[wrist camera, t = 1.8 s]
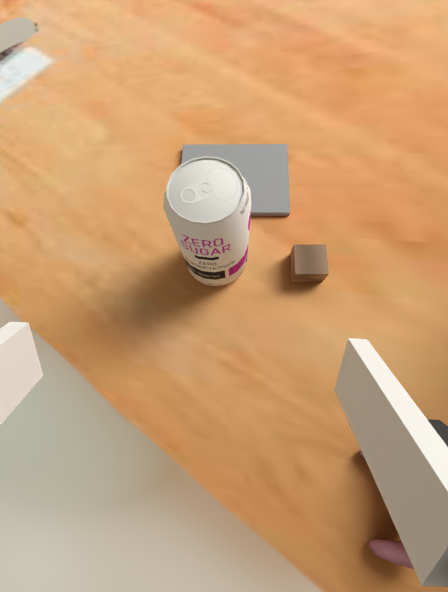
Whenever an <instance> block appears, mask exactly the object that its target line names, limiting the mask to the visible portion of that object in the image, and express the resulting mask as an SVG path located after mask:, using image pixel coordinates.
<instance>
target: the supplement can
mask: <svg viewBox="0 0 448 592" xmlns="http://www.w3.org/2000/svg"><path fill="white" fill-rule="evenodd" d="M164 210H165V212H166V215H167V217H168V220H169V222H170V225H171V227H172V230H173V232H174V235H175V237H176V240H177V242H178V245H179V247H180V250H181V252H182V255H183V257H184V259H185V262H186V264H187V267H188V269H189V272H190V274H191V275H192V276H193V277H194V278H195V279H196V280H197V281H199V282H201V283H203V284H205V285H210V286H221V285H226V284H229V283H230V282H232V281H234V280H235V279H237V278H238V277H239V276H240V274H241V273H242V272H243V271H244V268H245V265H246V262H247V253H248V240H249V227H250V214H251V191H250V188H249V186H248V184H247V182H246V180H245V179H244V177H243V176H242V175H241V173H240V171H239V170H238V169H237V168H236V167H235V166H234V165H233V164H232V163H230V162H229V161H226V160H224V159H221V158H219V157H209V156H203V157H199V158H194V159H191V160H189V161H187V162H185V163H183V164H181V165H180V166H179V167H178V168H177V169H176V170H175V171H174V172H173V173H172V175H171V177H170V179H169V181H168V183H167V190H166V192H165V194H164Z"/></svg>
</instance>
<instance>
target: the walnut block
mask: <svg viewBox="0 0 448 592" xmlns="http://www.w3.org/2000/svg"><path fill="white" fill-rule="evenodd" d="M290 266H291V282H323V280H324V279H325V278H326V277H327V275H328V263H327V253H326V245H293V248H292V250H291V253H290Z"/></svg>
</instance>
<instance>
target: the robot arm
mask: <svg viewBox="0 0 448 592" xmlns="http://www.w3.org/2000/svg"><path fill="white" fill-rule="evenodd" d="M42 377H43V373H42V369H41V366H40V362H39V358H38V355H37V351H36V348H35V344H34V341H33V337H32V334H31V330H30V326H29V323H24V322H9V323H8V324H6V325H5V326H4V327H2V328H1V329H0V425H1V424H2V423H3V421H4V420H5V419H6V418H7V417H8V416H9V415H10V413H11V412H12V411H13V410H14V409H15V408H16V406H17V405H18V404H19V403H20V402H21V401H22V399H23V398H24V397H25V396H26V395H27V394H28V393H29V392H30V390H31V389H32V388H33V387H34V386H35V385H36V383H37V382H38V381H39V380H40V379H41V378H42ZM335 392H336V394H337V397H338V399H339V401H340V403H341V406H342V408H343V410H344V412H345V415H346V417H347V419H348V421H349V424H350V426H351V428H352V430H353V433H354V435H355V437H356V439H357V442H358V444H359V446H360V448H361V451H362V453H363V455H364V457H365V460H366V462H367V464H368V466H369V469H370V471H371V473H372V475H373V478H374V480H375V482H376V484H377V487H378V489H379V491H380V493H381V496H382V498H383V500H384V502H385V505H386V507H387V509H388V511H389V514H390V516H391V518H392V520H393V523H394V525H395V527H396V529H397V532H398V534H399V536H400V538H401V541H402V543H403V545H404V547H405V550H406V552H407V554H408V556H409V559H410V561H411V563H412V565H413V568H414V570H415V572H416V574H417V577H418V579H419V581H420V583H421V586H440V587H448V426H446V425H445V424H444V423H443V422H441V421H440V420H427V419H426V417H425V416H424V415H423V413H422V412H421V411H420V409H419V408H418V407H417V405H416V404H415V403H414V401H413V400H412V399H411V397H410V396H409V395H408V393H407V392H406V391H405V389H404V388H403V387H402V385H401V384H400V383H399V381H398V380H397V379H396V377H395V376H394V375H393V373H392V372H391V371H390V369H389V368H388V367H387V365H386V364H385V363H384V361H383V360H382V359H381V357H380V356H379V355H378V353H377V352H376V351H375V349H374V348H373V347H372V345H371V344H370V343H369V341H368V340H367V339H351V338H348V341H347V345H346V349H345V353H344V356H343V360H342V364H341V368H340V371H339V375H338V379H337V383H336V387H335Z"/></svg>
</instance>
